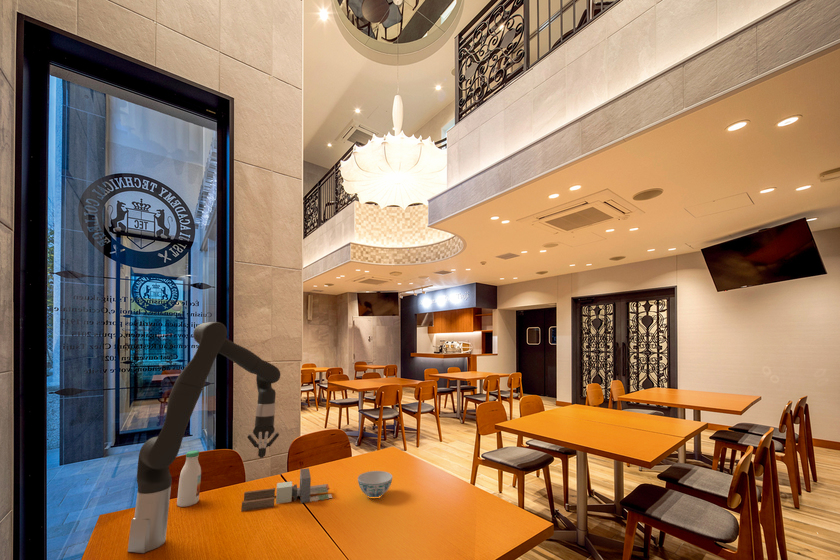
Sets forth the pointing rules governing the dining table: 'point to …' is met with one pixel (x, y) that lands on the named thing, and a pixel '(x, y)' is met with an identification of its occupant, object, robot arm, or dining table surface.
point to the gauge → (268, 493)
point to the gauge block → (284, 492)
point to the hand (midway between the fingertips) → (261, 457)
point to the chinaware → (375, 483)
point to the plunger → (311, 490)
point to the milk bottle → (189, 480)
